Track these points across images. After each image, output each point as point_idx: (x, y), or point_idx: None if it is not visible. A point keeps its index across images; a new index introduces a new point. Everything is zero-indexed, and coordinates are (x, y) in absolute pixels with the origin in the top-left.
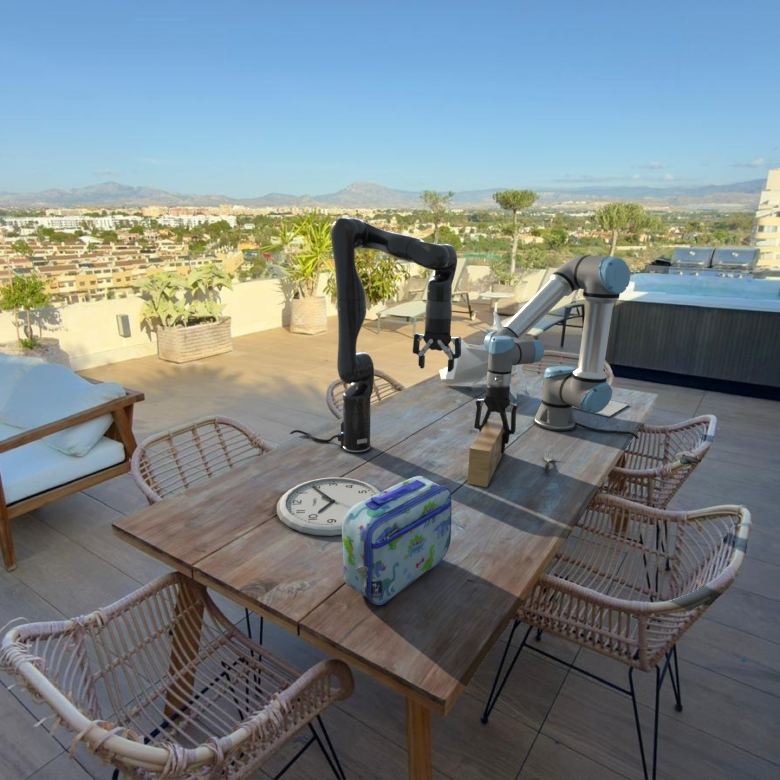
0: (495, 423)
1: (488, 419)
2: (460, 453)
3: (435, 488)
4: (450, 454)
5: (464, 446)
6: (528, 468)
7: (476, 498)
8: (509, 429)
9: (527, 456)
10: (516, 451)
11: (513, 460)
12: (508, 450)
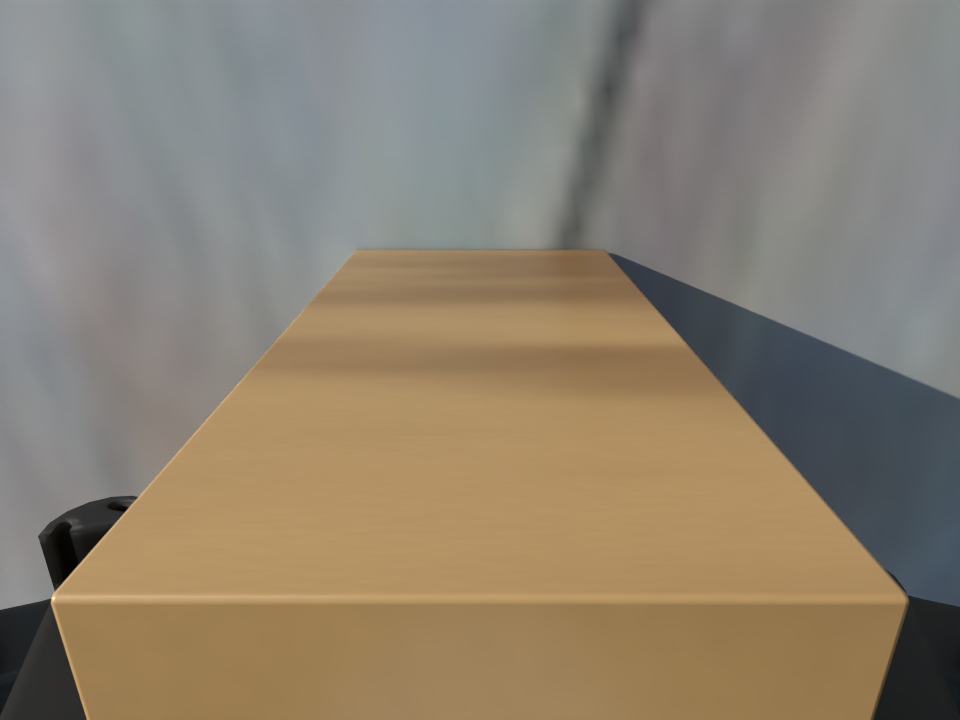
0: None
1: (83, 652)
2: (97, 472)
3: None
4: (12, 539)
5: (29, 236)
6: (921, 547)
7: None
8: (917, 623)
9: (955, 216)
10: (800, 92)
11: (754, 416)
12: (675, 105)
